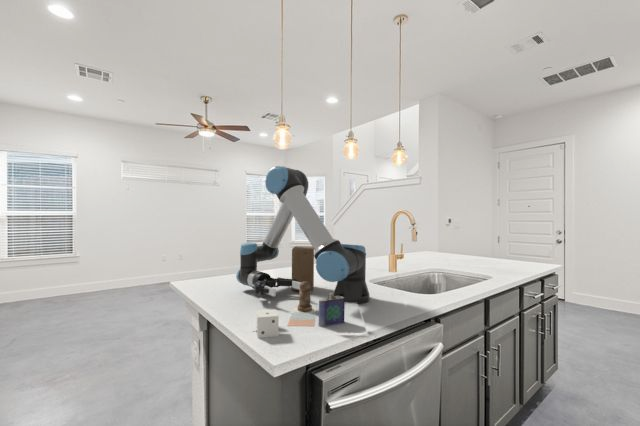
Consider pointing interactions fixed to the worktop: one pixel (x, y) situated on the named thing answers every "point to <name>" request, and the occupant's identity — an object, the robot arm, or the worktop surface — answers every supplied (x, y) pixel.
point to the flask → (331, 310)
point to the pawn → (304, 297)
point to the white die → (267, 323)
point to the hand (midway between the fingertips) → (289, 289)
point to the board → (302, 318)
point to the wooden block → (303, 265)
